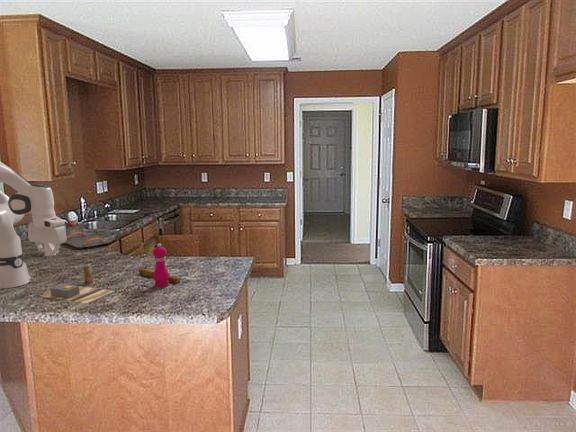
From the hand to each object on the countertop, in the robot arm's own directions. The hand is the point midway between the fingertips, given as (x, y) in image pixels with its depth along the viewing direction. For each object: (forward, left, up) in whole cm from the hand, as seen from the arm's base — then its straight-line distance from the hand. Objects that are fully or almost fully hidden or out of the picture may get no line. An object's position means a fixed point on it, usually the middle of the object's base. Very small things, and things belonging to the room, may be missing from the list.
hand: (48, 252), depth 192 cm
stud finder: (+8, -1, -18) cm, 20 cm away
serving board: (-67, +83, -20) cm, 108 cm away
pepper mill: (+38, +26, -19) cm, 50 cm away
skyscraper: (-64, +53, -20) cm, 85 cm away
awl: (+5, +15, -19) cm, 25 cm away
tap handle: (+29, +35, -20) cm, 50 cm away
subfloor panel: (+12, +2, -19) cm, 23 cm away
